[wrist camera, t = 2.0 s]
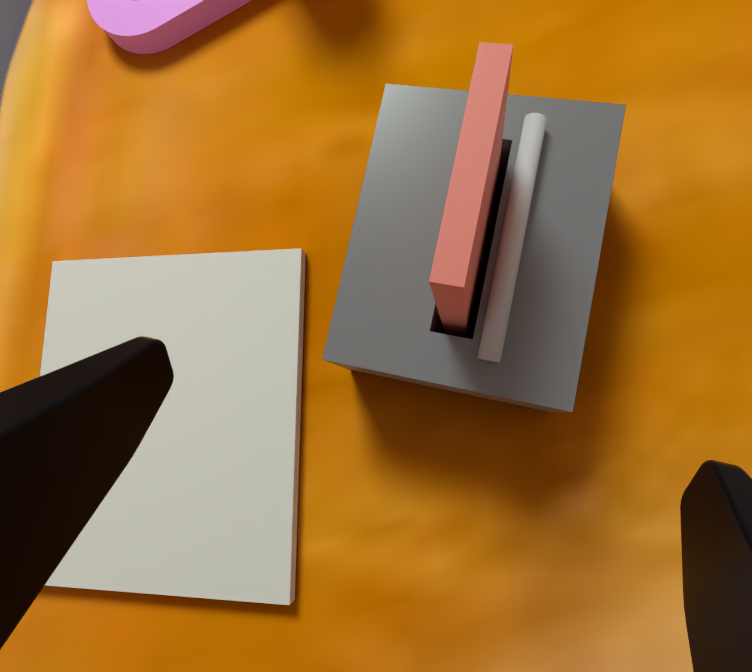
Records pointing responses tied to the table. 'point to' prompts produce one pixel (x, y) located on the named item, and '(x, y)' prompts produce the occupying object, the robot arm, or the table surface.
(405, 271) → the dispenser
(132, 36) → the bracket
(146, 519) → the mat
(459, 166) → the pink rectangular prism
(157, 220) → the table surface
